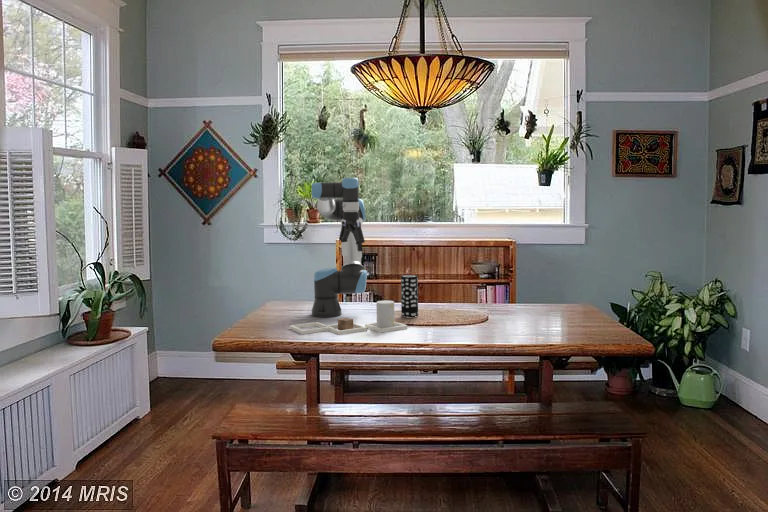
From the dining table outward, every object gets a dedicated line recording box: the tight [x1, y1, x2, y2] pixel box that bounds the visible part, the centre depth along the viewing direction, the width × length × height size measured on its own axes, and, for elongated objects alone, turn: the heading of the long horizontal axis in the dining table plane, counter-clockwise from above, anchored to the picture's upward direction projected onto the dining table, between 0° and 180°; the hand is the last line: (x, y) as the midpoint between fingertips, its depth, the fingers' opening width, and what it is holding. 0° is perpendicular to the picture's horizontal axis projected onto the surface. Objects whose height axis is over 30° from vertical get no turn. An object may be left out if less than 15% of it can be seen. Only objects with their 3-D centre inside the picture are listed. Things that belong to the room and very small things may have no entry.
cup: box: [376, 300, 396, 329], centre depth 308 cm, size 8×8×12 cm
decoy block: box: [337, 317, 355, 330], centre depth 305 cm, size 5×5×5 cm
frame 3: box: [364, 321, 408, 333], centre depth 308 cm, size 14×14×2 cm
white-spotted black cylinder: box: [400, 274, 419, 318], centre depth 334 cm, size 8×8×20 cm
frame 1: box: [289, 321, 330, 335], centre depth 307 cm, size 14×14×2 cm
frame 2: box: [325, 322, 368, 335], centre depth 305 cm, size 14×14×2 cm
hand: (351, 257), depth 315 cm, fingers open, 13 cm apart
